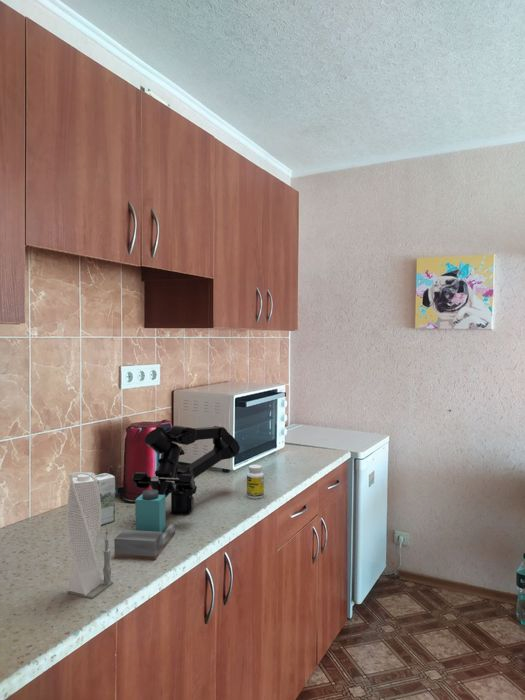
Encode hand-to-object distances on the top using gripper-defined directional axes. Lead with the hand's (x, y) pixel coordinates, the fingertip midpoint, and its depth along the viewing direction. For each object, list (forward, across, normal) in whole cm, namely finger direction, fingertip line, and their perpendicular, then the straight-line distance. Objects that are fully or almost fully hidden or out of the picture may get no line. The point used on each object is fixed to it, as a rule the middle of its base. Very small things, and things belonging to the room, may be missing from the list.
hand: (157, 507), depth 145 cm
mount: (+12, 0, +2) cm, 12 cm away
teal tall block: (+9, 0, 0) cm, 9 cm away
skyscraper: (+29, +5, +19) cm, 35 cm away
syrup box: (+2, +20, -9) cm, 22 cm away
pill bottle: (-20, -24, -30) cm, 43 cm away
